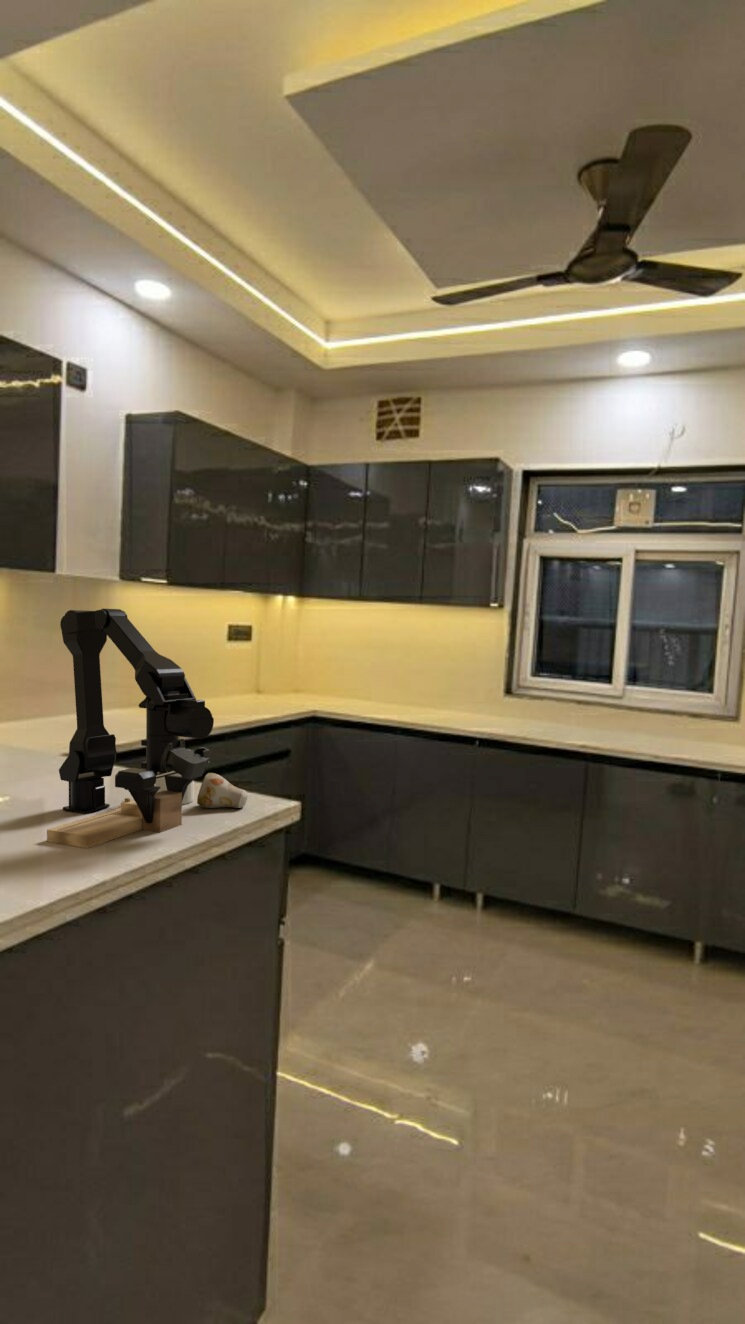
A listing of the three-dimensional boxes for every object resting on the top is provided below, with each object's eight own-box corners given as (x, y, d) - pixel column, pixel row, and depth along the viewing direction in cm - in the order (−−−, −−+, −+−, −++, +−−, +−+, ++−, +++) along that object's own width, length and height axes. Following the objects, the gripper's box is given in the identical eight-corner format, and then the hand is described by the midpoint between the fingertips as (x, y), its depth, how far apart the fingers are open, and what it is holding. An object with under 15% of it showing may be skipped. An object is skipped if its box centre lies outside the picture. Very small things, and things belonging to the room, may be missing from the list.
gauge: (113, 825, 138) (113, 792, 138) (136, 817, 143) (136, 786, 143) (160, 832, 133) (160, 799, 133) (181, 824, 139) (181, 792, 139)
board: (46, 841, 127) (46, 829, 127) (136, 812, 147) (136, 802, 147) (87, 848, 123) (87, 835, 123) (173, 818, 143) (173, 807, 143)
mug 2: (193, 805, 154) (193, 754, 154) (153, 806, 153) (153, 755, 152) (194, 792, 166) (194, 745, 166) (157, 793, 164) (157, 746, 164)
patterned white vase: (247, 813, 149) (222, 772, 147) (207, 831, 151) (182, 790, 149) (257, 796, 156) (233, 756, 154) (219, 813, 158) (195, 774, 156)
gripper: (164, 744, 124) (164, 836, 125) (229, 730, 142) (228, 812, 142) (112, 739, 129) (112, 828, 130) (181, 727, 146) (181, 806, 147)
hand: (162, 818), depth 137 cm, fingers open, 7 cm apart
